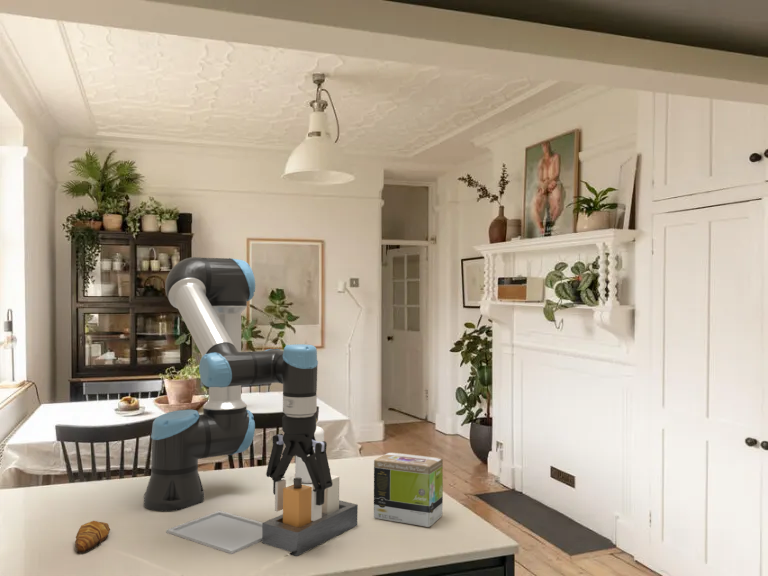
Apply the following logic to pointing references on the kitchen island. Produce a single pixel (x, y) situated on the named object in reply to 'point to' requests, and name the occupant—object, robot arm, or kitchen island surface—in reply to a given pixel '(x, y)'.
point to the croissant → (91, 535)
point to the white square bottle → (331, 496)
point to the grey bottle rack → (309, 530)
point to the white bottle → (299, 464)
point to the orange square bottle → (297, 504)
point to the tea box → (408, 488)
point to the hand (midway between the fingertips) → (297, 514)
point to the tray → (221, 531)
